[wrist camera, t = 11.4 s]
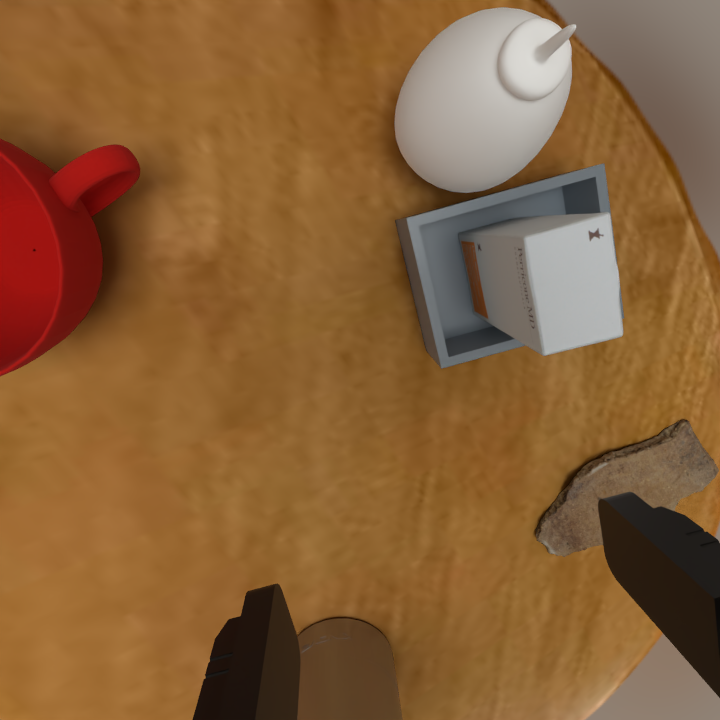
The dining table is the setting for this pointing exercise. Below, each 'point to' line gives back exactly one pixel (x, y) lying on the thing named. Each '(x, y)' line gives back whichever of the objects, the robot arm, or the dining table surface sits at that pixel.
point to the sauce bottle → (484, 98)
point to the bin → (447, 268)
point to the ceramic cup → (52, 244)
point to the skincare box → (546, 279)
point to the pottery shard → (626, 486)
